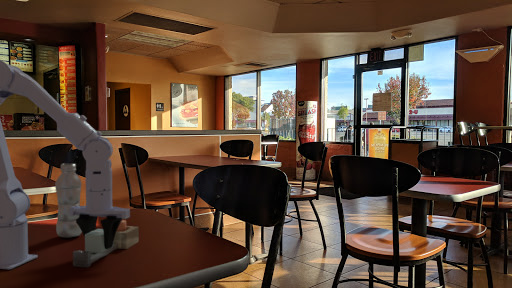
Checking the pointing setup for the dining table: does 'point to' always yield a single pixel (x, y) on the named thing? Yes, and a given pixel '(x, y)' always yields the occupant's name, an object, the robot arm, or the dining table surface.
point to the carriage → (95, 241)
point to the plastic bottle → (68, 201)
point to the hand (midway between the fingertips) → (99, 247)
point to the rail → (90, 256)
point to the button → (122, 226)
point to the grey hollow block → (127, 237)
